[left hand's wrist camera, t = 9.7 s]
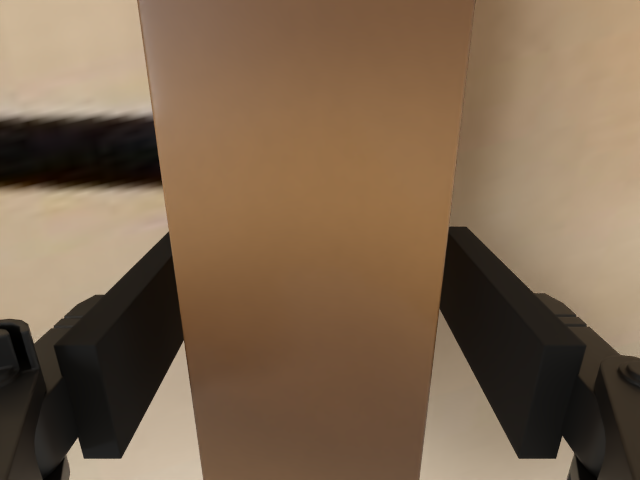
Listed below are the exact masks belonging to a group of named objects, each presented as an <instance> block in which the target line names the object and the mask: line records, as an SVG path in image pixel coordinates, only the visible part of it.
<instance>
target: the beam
mask: <svg viewBox="0 0 640 480" xmlns="http://www.w3.org/2000/svg"><path fill="white" fill-rule="evenodd" d="M137 2H138V9H139V16H140V24H141V31H142V38H143V45H144V53H145V60H146V67H147V75H148V82H149V89H150V96H151V104H152V111H153V118H154V125H155V133H156V140H157V147H158V154H159V162H160V169H161V176H162V183H163V191H164V198H165V205H166V212H167V220H168V227H169V234H170V241H171V249H172V256H173V263H174V271H175V278H176V285H177V292H178V300H179V307H180V314H181V321H182V329H183V336H184V343H185V350H186V358H187V365H188V372H189V379H190V387H191V394H192V401H193V408H194V416H195V423H196V430H197V438H198V445H199V452H200V459H201V467H202V474H203V480H419V478H420V469H421V460H422V452H423V443H424V435H425V426H426V418H427V409H428V401H429V392H430V384H431V375H432V366H433V358H434V349H435V341H436V332H437V324H438V315H439V307H440V298H441V290H442V281H443V272H444V264H445V255H446V247H447V238H448V230H449V221H450V213H451V204H452V196H453V187H454V178H455V170H456V161H457V153H458V144H459V136H460V127H461V119H462V110H463V102H464V93H465V84H466V76H467V67H468V59H469V50H470V42H471V33H472V25H473V16H474V8H475V0H137Z"/></svg>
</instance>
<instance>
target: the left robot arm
mask: <svg viewBox="0 0 640 480" xmlns="http://www.w3.org/2000/svg"><path fill="white" fill-rule="evenodd" d="M439 309H440V310H441V312H442V314H443V316H444V318H445V320H446V322H447V324H448V326H449V327H450V329H451V331H452V333H453V335H454V337H455V339H456V341H457V343H458V344H459V346H460V348H461V350H462V352H463V354H464V356H465V358H466V360H467V361H468V363H469V365H470V367H471V369H472V371H473V373H474V375H475V377H476V379H477V380H478V382H479V384H480V386H481V388H482V390H483V392H484V394H485V396H486V397H487V399H488V401H489V403H490V405H491V407H492V409H493V411H494V413H495V414H496V416H497V418H498V420H499V422H500V424H501V426H502V428H503V430H504V432H505V433H506V435H507V437H508V439H509V441H510V443H511V445H512V447H513V449H514V450H515V452H516V454H517V456H518V458H519V459H556V457H557V453H558V449H559V446H560V442H561V438H562V436H563V437H564V439H565V440H566V441H567V443H568V444H569V446H570V447H571V449H572V450H573V452H574V456H573V460H572V463H571V466H570V470H569V473H568V477H567V480H640V358H637V357H632V356H624V355H620V354H619V353H618V352H616V351H615V350H614V349H613V348H612V347H611V346H610V345H609V344H608V343H606V342H605V341H604V340H603V339H602V338H601V337H600V336H599V335H598V334H597V333H595V332H594V331H593V330H592V329H591V328H590V327H587V326H586V325H587V324H586V323H584V322H583V321H582V320H581V319H580V318H579V317H576V314H575V313H573V312H572V311H571V310H570V309H569V308H568V307H567V306H566V305H565V304H564V303H562V302H560V301H558V300H556V299H554V298H552V297H550V296H548V295H547V294H545V293H533V292H532V291H531V290H530V289H529V288H528V287H527V286H526V285H525V284H524V283H523V282H522V281H521V280H520V279H519V278H518V277H517V276H516V275H515V274H514V273H513V272H512V271H511V270H510V269H509V268H508V267H507V266H506V265H505V264H504V263H502V262H501V261H500V260H499V259H498V258H497V257H496V256H495V255H494V254H493V253H492V252H491V251H490V250H489V249H488V248H487V247H486V246H485V245H484V244H483V243H482V242H481V241H480V240H479V239H478V238H477V237H476V236H475V235H474V234H473V233H472V232H471V231H470V230H469V229H468V228H467V227H449V230H448V238H447V247H446V255H445V264H444V272H443V281H442V290H441V298H440V307H439ZM183 341H184V336H183V329H182V321H181V314H180V307H179V300H178V292H177V285H176V278H175V271H174V263H173V256H172V249H171V241H170V234H169V232H168V233H167V234H166V235H165V236H164V237H163V238H162V239H161V240H160V241H159V242H158V243H157V244H156V245H155V246H154V247H153V248H152V249H151V250H150V251H149V252H148V253H147V254H146V255H145V256H144V257H143V258H142V259H141V260H140V261H139V262H138V263H136V264H135V265H134V266H133V267H132V268H131V269H130V270H129V271H128V272H127V273H126V274H125V275H124V276H123V277H122V278H121V279H120V280H119V281H118V282H117V283H116V284H115V285H114V286H113V287H112V288H111V289H110V290H109V291H108V292H107V293H106V294H105V295H94V296H93V297H91V298H89V299H87V300H85V301H83V302H81V303H79V304H77V305H76V306H75V307H74V308H73V309H72V310H71V311H70V312H69V313H67V314H66V315H65V316H64V319H61V320H60V321H59V322H58V323H57V324H55V325H54V328H51V329H50V330H49V331H48V332H47V333H46V334H45V335H43V336H42V337H41V338H40V339H39V340H38V341H37V342H36V343H35V344H34V343H33V339H32V336H31V332H30V329H29V326H28V324H27V323H25V322H24V321H22V320H15V319H4V320H0V480H69V476H70V469H69V463H68V460H67V456H66V454H67V452H68V451H69V450H70V448H71V447H72V445H73V444H74V442H75V441H76V439H77V438H79V442H80V446H81V449H82V453H83V457H84V459H121V458H122V456H123V454H124V452H125V450H126V449H127V447H128V445H129V443H130V441H131V439H132V437H133V435H134V433H135V432H136V430H137V428H138V426H139V424H140V422H141V420H142V418H143V416H144V414H145V413H146V411H147V409H148V407H149V405H150V403H151V401H152V399H153V397H154V396H155V394H156V392H157V390H158V388H159V386H160V384H161V382H162V380H163V379H164V377H165V375H166V373H167V371H168V369H169V367H170V365H171V363H172V362H173V360H174V358H175V356H176V354H177V352H178V350H179V348H180V346H181V344H182V343H183Z"/></svg>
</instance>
